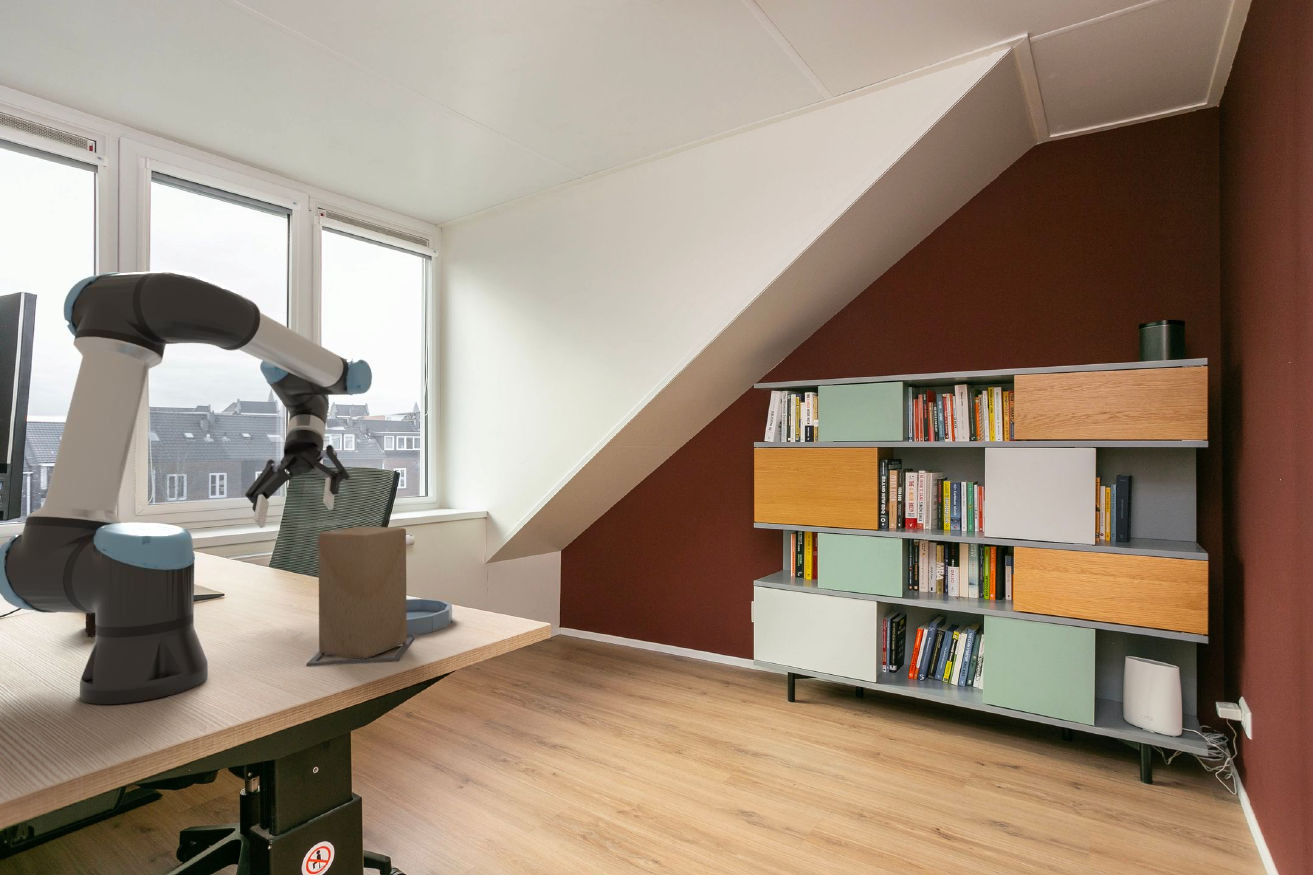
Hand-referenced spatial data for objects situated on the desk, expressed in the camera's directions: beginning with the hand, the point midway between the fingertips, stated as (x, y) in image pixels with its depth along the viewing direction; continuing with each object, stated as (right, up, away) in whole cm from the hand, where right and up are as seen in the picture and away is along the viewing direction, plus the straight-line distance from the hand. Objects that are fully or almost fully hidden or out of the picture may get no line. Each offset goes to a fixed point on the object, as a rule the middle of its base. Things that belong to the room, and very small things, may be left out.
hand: (293, 514), depth 141 cm
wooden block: (+22, -21, -20) cm, 36 cm away
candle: (-32, -22, -3) cm, 39 cm away
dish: (+23, -21, -3) cm, 31 cm away
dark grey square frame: (+22, -21, -20) cm, 37 cm away
